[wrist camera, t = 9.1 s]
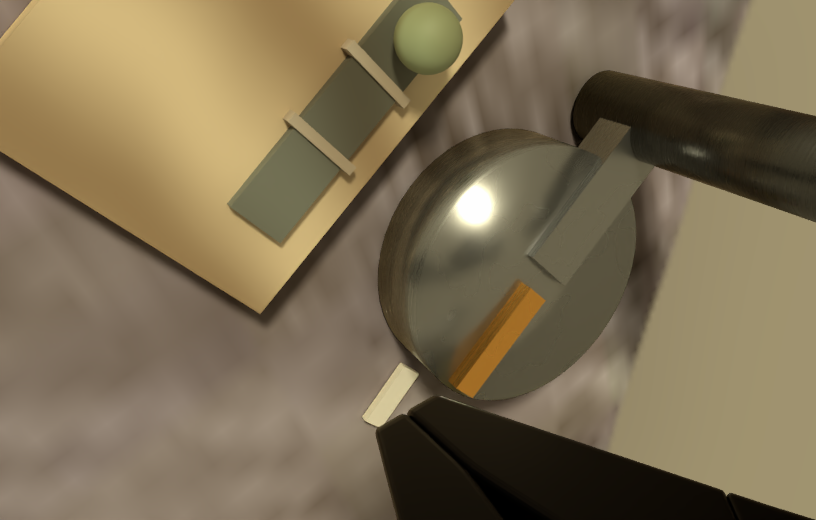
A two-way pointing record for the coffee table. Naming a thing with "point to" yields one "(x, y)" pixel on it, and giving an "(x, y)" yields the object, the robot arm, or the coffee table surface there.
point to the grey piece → (564, 224)
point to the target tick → (390, 395)
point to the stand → (226, 115)
